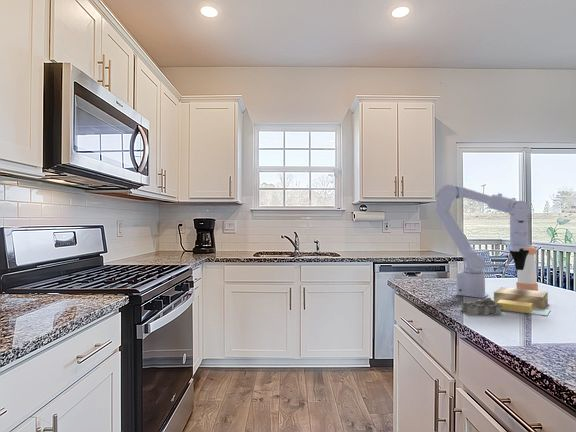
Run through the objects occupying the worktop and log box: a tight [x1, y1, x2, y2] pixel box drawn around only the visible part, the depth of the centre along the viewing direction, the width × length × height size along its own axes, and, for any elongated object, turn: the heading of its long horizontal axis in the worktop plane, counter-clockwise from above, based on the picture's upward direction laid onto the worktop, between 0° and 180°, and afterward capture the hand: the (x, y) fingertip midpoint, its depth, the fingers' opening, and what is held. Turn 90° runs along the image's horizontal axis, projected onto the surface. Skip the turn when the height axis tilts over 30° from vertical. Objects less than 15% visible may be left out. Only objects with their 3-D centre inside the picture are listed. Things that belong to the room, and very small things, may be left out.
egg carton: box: [460, 297, 502, 315], centre depth 117 cm, size 11×8×4 cm
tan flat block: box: [493, 287, 549, 309], centre depth 127 cm, size 14×12×4 cm
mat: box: [495, 303, 551, 317], centre depth 119 cm, size 18×8×1 cm, turn 49°
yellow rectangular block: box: [497, 299, 533, 314], centre depth 118 cm, size 9×6×2 cm, turn 49°
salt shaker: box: [516, 246, 539, 291], centre depth 149 cm, size 7×7×19 cm
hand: (519, 269), depth 137 cm, fingers closed
